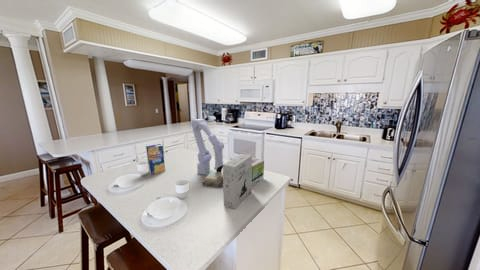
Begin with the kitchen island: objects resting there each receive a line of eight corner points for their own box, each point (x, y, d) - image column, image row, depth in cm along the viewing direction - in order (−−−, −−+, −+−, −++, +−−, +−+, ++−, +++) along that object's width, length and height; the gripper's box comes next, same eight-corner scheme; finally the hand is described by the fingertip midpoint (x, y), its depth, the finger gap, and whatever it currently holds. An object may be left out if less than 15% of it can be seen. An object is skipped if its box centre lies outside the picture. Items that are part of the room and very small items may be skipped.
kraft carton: (205, 184, 126) (205, 177, 125) (212, 177, 138) (211, 171, 137) (216, 185, 124) (216, 179, 123) (221, 178, 136) (221, 172, 135)
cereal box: (234, 209, 98) (234, 167, 93) (223, 205, 102) (222, 164, 96) (251, 191, 116) (252, 155, 111) (241, 188, 120) (241, 153, 115)
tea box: (253, 186, 123) (253, 166, 120) (241, 182, 129) (241, 163, 126) (263, 178, 135) (264, 160, 131) (252, 175, 141) (253, 157, 137)
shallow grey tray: (202, 185, 124) (202, 182, 123) (210, 176, 138) (210, 173, 138) (220, 187, 121) (220, 184, 121) (227, 177, 136) (227, 174, 135)
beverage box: (165, 170, 148) (162, 145, 143) (151, 174, 141) (147, 148, 137) (162, 168, 153) (160, 143, 149) (148, 171, 147) (145, 146, 142)
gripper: (220, 162, 127) (221, 179, 130) (226, 155, 141) (226, 171, 144) (211, 161, 129) (212, 178, 131) (218, 154, 142) (218, 170, 145)
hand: (219, 174), depth 138 cm, fingers closed
